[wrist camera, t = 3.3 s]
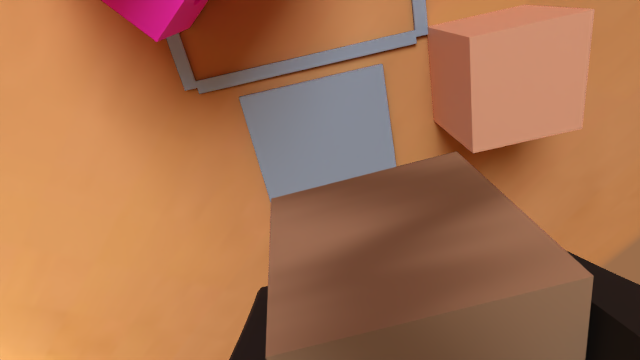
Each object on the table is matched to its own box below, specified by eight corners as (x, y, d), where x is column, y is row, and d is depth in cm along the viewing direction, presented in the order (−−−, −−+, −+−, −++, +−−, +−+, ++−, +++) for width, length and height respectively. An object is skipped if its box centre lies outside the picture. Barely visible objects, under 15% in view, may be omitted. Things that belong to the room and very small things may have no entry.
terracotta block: (522, 4, 16) (594, 9, 12) (520, 100, 18) (582, 128, 14) (426, 26, 16) (469, 37, 12) (433, 120, 18) (473, 153, 14)
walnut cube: (456, 151, 10) (593, 276, 6) (468, 293, 13) (574, 463, 8) (271, 198, 10) (265, 357, 6) (315, 331, 13) (336, 520, 8)
